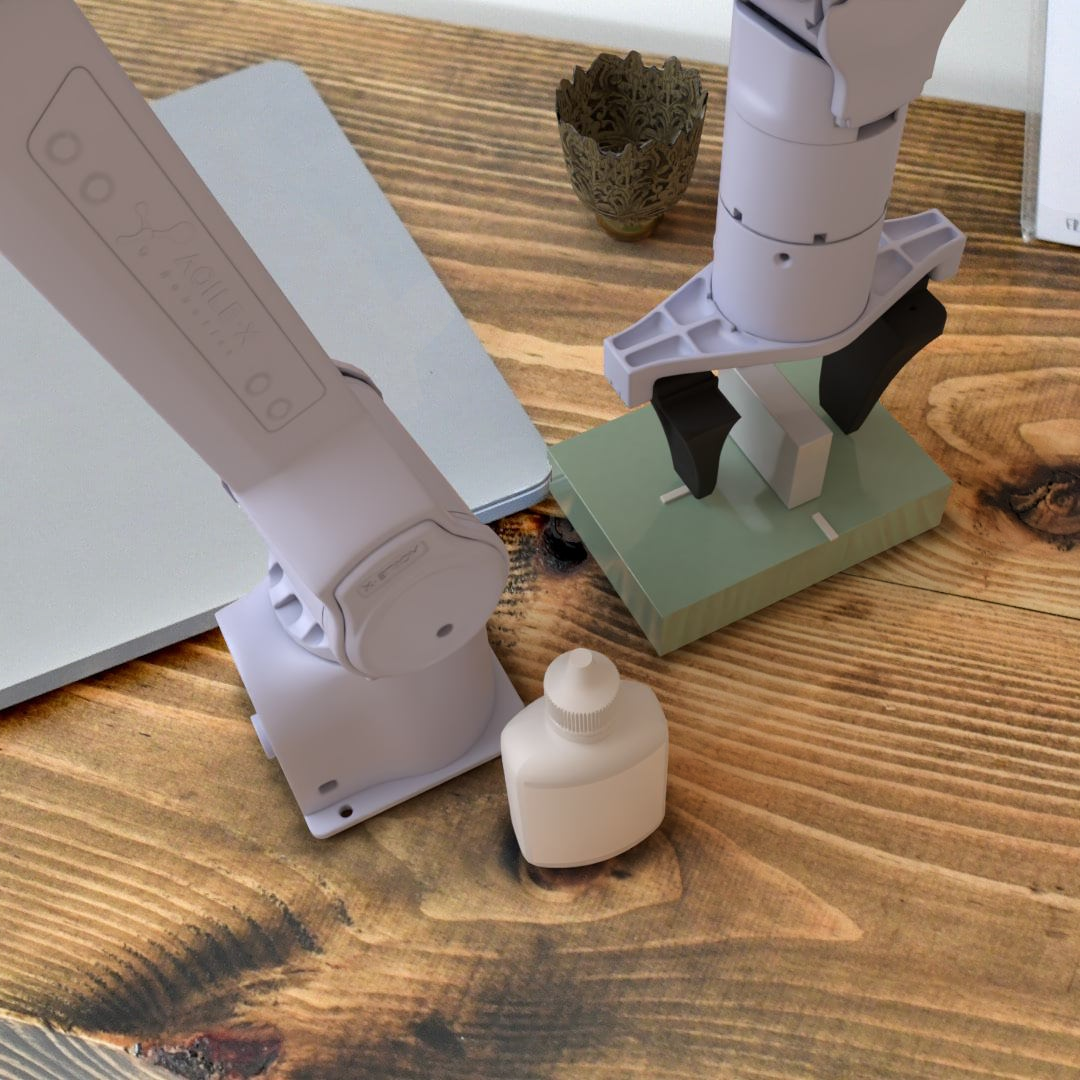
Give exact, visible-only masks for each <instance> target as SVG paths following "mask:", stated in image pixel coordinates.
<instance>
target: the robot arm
mask: <svg viewBox="0 0 1080 1080" xmlns="http://www.w3.org/2000/svg"><path fill="white" fill-rule="evenodd" d="M732 1H733V2H732V14H731V27H730V38H729V39H730V41H729V53H728V67H727V80H726V94H725V95H726V96H725V109H724V120H723V121H724V122H723V123H724V124H723V134H722V135H723V136H722V148H721V149H722V150H721V161H720V175H719V185H718V196H717V209H716V222H715V232H714V235H713V241H712V250H713V259H712V261H710V262H709V263H708V264H707V265H706V266H704V267H703V268H702V269H701V270H700V271H698V272H697V273H696V274H695V275H694V276H692V277H691V278H690V279H689V280H688V281H687V280H686V282H685V283H683V285H681V286H680V287H679V288H678V289H676V290H675V291H673V293H671V294H670V295H669V296H668V297H666V298H665V299H664V300H663V301H662V302H660V303H659V304H658V305H656V306H655V307H654V308H653V309H651V311H649V312H648V313H647V314H645V315H644V316H643V317H642V318H640V319H639V320H637V321H636V322H635V323H633V324H632V325H630V326H628V327H626V328H625V329H623V330H621V331H619V332H617V333H614V334H612V335H610V336H608V337H606V338H604V339H603V376H604V378H605V379H606V381H607V382H608V383H609V385H611V386H610V387H611V388H612V389H613V390H614V392H615V394H616V395H617V396H618V397H619V398H620V399H621V401H622V402H623V404H624V405H625V406H626V408H627V409H629V410H632V409H634V408H637V407H639V406H642V405H644V404H646V403H649V402H650V404H652V406H653V408H654V410H655V412H656V414H657V416H658V418H659V420H660V422H661V425H662V427H663V430H664V433H665V435H666V438H667V441H668V445H669V448H670V452H671V457H672V461H673V466H674V470H675V471H676V473H677V474H678V475H679V477H680V478H681V480H682V481H683V482H684V484H685V485H686V486H687V488H688V489H689V490H690V492H691V493H692V494H693V496H694V497H695V499H702V498H704V497H706V496H709V495H711V494H712V493H713V491H714V489H715V486H716V484H717V477H718V469H719V461H720V455H721V451H722V448H723V445H724V443H725V440H726V438H727V436H728V434H729V432H730V431H731V429H732V428H733V426H734V425H735V424H736V423H737V422H738V420H739V419H740V418H742V417H741V415H740V414H739V413H738V412H737V410H736V409H735V408H734V407H733V406H732V404H731V403H730V402H729V401H728V399H727V398H726V397H725V396H724V394H723V393H722V392H721V391H720V389H719V388H718V383H719V378H718V377H717V376H718V375H715V374H714V372H713V371H718V370H721V369H729V368H738V367H747V366H756V365H764V364H773V363H782V362H790V361H799V360H807V359H813V358H819V357H822V356H823V358H822V365H821V372H820V380H819V403H820V406H821V407H822V408H823V409H824V411H825V412H826V413H827V414H828V415H829V416H830V418H831V419H832V420H833V421H834V422H835V423H836V425H837V426H838V427H839V428H840V429H841V430H842V432H843V433H844V434H845V435H849V434H851V433H853V432H855V431H858V429H859V428H860V427H861V426H862V424H863V423H864V421H865V420H866V418H867V417H868V415H869V414H870V412H871V411H872V409H873V407H874V406H875V404H876V403H877V401H878V400H879V401H880V398H881V397H882V395H883V394H884V392H885V391H886V390H887V389H888V387H889V386H890V384H891V383H892V381H893V380H894V379H895V378H896V376H897V375H898V374H899V372H900V371H902V370H903V368H904V367H905V366H906V365H907V364H908V363H909V362H910V361H911V360H912V359H913V358H914V357H915V356H916V355H917V354H918V353H920V352H921V351H922V350H923V349H924V348H925V347H927V346H928V345H929V344H930V343H932V342H933V341H934V340H936V339H937V338H939V337H940V336H942V335H943V334H944V329H945V326H946V323H947V319H948V311H947V309H946V307H945V306H944V304H943V303H942V302H941V301H940V300H939V299H938V298H937V297H936V296H935V294H933V293H932V292H931V291H930V290H929V289H928V286H929V282H930V281H931V282H935V283H939V282H942V281H946V280H948V279H950V278H952V277H955V276H957V275H958V272H959V269H960V265H961V261H962V258H963V254H964V251H965V247H966V243H967V239H968V236H967V235H966V234H964V233H963V232H962V231H961V229H959V228H958V227H957V226H956V225H955V224H954V223H953V222H952V221H951V220H950V219H949V218H947V217H946V216H945V215H944V214H943V213H942V211H940V210H939V209H938V208H936V207H933V208H932V209H928V210H926V211H923V212H919V213H916V214H913V215H907V216H904V217H897V218H890V219H886V214H887V209H888V205H889V201H890V196H891V191H892V186H893V182H894V176H895V173H896V169H897V168H896V167H897V163H898V159H899V153H900V150H901V149H900V148H901V144H902V138H903V134H904V129H905V124H906V120H907V115H908V110H909V106H910V105H909V104H910V103H911V102H914V101H915V100H917V99H918V98H919V97H920V96H921V94H922V93H923V90H924V87H925V85H926V82H928V81H929V80H930V79H932V77H933V73H934V70H935V65H936V60H937V56H938V52H939V49H940V46H941V43H942V42H943V41H942V40H943V38H944V37H945V34H946V32H948V29H949V27H950V25H951V24H952V22H953V21H954V19H955V18H956V17H957V15H958V14H959V12H960V11H961V10H962V8H963V6H964V5H965V3H966V2H967V0H732ZM0 254H1V256H2V257H3V258H4V259H6V260H7V261H8V263H9V264H10V265H11V266H12V267H13V268H14V269H15V270H16V271H17V272H18V273H19V274H20V275H21V276H22V277H23V278H24V279H25V280H26V281H27V282H28V284H30V285H31V286H32V287H33V288H34V289H35V290H36V292H38V293H39V294H40V295H41V297H43V298H44V299H45V301H47V302H48V304H50V306H51V307H52V308H53V309H54V310H55V311H57V313H58V314H59V315H60V316H61V317H62V318H63V319H64V320H65V321H66V322H67V323H68V324H69V325H70V326H71V327H72V328H73V329H74V330H75V331H76V332H77V333H78V334H79V335H80V336H81V338H83V340H84V341H86V343H88V344H89V345H90V346H91V347H92V349H93V350H95V352H96V353H97V354H98V355H99V356H100V357H101V358H102V359H103V360H104V361H105V362H106V363H107V364H108V366H110V367H111V368H112V369H113V370H114V371H115V372H116V373H117V374H118V375H119V376H120V377H121V378H122V379H123V380H124V381H125V382H126V383H127V384H128V385H129V386H130V387H131V388H132V390H134V392H136V393H137V395H139V397H140V398H141V399H143V401H145V403H146V404H147V405H148V406H149V407H150V408H151V409H152V410H153V411H154V412H155V413H156V414H157V415H158V416H159V417H160V418H161V419H162V420H163V421H164V422H165V423H166V424H167V425H168V427H170V428H171V429H172V430H173V431H174V432H175V433H176V434H177V435H178V436H179V437H180V438H181V440H183V442H184V443H185V444H186V445H187V446H188V447H189V448H190V449H191V450H192V451H193V452H194V453H195V454H196V455H197V456H198V457H199V458H200V459H201V460H202V461H203V462H204V463H205V464H206V465H207V466H208V467H209V468H210V469H211V470H212V471H213V473H215V474H216V478H217V480H218V482H219V483H220V485H221V487H222V488H223V490H224V491H225V492H226V493H227V494H228V496H229V498H231V499H232V500H233V501H234V503H236V504H238V505H239V506H240V508H241V510H242V511H243V513H244V514H245V515H246V517H247V518H248V520H249V522H250V523H251V525H252V526H253V527H254V529H255V530H256V532H257V533H258V534H259V536H260V538H261V539H262V541H263V542H264V544H265V546H266V547H267V549H268V558H267V559H268V560H267V562H268V563H267V575H266V576H265V577H264V578H263V579H261V581H260V582H258V584H257V585H256V586H254V587H253V588H252V589H250V590H249V591H247V593H245V594H244V595H242V596H240V598H238V599H236V600H235V601H233V602H231V603H229V604H228V605H226V606H224V607H223V608H221V609H219V610H218V611H217V612H215V613H214V617H215V619H216V622H217V625H218V626H219V629H220V632H221V635H222V637H223V639H224V641H225V643H226V646H227V648H228V651H229V653H230V655H231V657H232V660H233V662H234V664H235V667H236V669H237V671H238V674H239V677H240V679H241V680H242V682H243V685H244V687H245V690H246V692H247V694H248V696H249V699H250V701H251V703H252V705H253V708H254V710H255V712H256V713H254V714H252V715H250V720H251V723H252V726H253V727H254V730H255V732H256V735H257V737H258V739H259V741H260V744H261V746H262V749H263V751H264V753H265V755H266V757H267V760H272V759H274V758H276V759H277V761H278V763H279V765H280V768H281V769H282V772H283V774H284V776H285V778H286V781H287V783H288V785H289V787H290V790H291V792H292V793H293V796H294V798H295V801H296V802H297V804H298V807H299V809H300V811H301V813H302V815H303V818H304V820H305V823H306V824H307V827H308V829H309V831H310V833H311V834H312V836H313V837H314V838H316V839H319V840H325V839H327V838H330V837H332V836H334V835H336V834H338V833H341V832H343V831H345V830H347V829H349V828H351V827H353V826H355V825H358V824H360V823H362V822H364V821H365V820H369V819H370V818H373V817H374V816H376V815H379V814H381V813H383V812H385V811H387V810H389V809H391V808H393V807H395V806H397V805H400V804H401V803H403V802H405V801H408V800H410V799H412V798H414V797H416V796H418V795H421V794H422V793H425V792H426V791H429V790H431V789H433V788H435V787H437V786H439V785H442V784H444V783H446V782H447V781H449V780H450V781H451V780H452V779H454V778H456V777H458V776H460V775H462V774H464V773H466V772H468V771H471V770H473V769H474V768H477V767H479V766H481V765H483V764H486V763H488V762H489V761H492V760H494V759H495V758H498V757H500V756H502V753H501V733H502V731H503V729H504V728H505V726H506V724H507V723H508V722H509V721H510V720H511V719H512V718H513V717H514V716H516V715H517V714H518V713H519V712H520V711H521V710H523V709H524V708H525V707H526V706H525V704H524V702H523V700H522V699H521V697H520V695H519V694H518V692H517V690H516V688H515V686H514V685H513V683H512V681H511V679H510V677H509V676H508V673H506V671H505V669H504V668H503V666H502V664H501V662H500V661H499V659H498V657H497V654H496V653H495V652H494V650H493V647H491V644H490V643H489V636H488V629H487V622H489V620H490V619H491V617H492V615H493V614H494V612H495V611H496V609H497V607H498V605H499V603H500V601H501V598H502V596H503V594H504V592H505V589H506V586H507V584H508V581H509V578H510V571H511V557H510V554H509V550H508V548H507V546H506V544H505V543H504V541H503V539H502V538H500V536H499V535H498V534H497V532H495V531H494V530H493V529H492V528H491V527H490V525H487V524H484V523H482V522H481V520H480V519H479V518H478V517H477V515H476V514H475V513H474V512H473V510H471V507H469V506H468V504H467V503H466V502H465V500H464V499H463V498H462V497H461V496H460V494H459V492H457V491H456V490H455V488H454V487H453V486H452V485H451V484H450V481H448V480H447V478H446V477H445V476H444V474H443V473H442V472H441V471H440V469H439V468H438V467H437V466H436V465H435V463H434V462H433V461H432V460H431V458H430V457H429V456H428V454H427V453H426V452H425V451H424V450H423V448H422V447H421V445H419V443H418V442H417V441H416V440H415V439H414V437H413V436H412V435H411V434H410V432H409V431H408V429H406V427H405V426H404V425H403V423H402V422H401V421H400V420H399V419H398V418H397V416H396V415H395V413H394V412H393V411H392V410H391V409H390V407H389V406H388V405H387V404H386V402H385V401H384V397H383V393H382V391H381V390H380V389H379V387H377V385H376V384H375V382H374V381H373V379H372V377H371V376H369V374H367V373H366V372H365V371H364V370H363V369H361V368H360V367H357V366H355V365H354V364H352V363H348V362H345V361H342V360H338V359H334V358H331V357H330V356H329V354H328V353H327V352H326V350H325V349H324V348H323V346H322V345H321V343H320V342H319V341H318V339H317V337H316V336H315V334H313V332H312V331H311V329H310V328H309V326H308V325H307V324H306V322H305V321H304V320H303V318H302V317H301V315H300V314H299V312H298V311H297V310H296V309H295V307H294V306H293V304H292V303H291V301H290V300H289V298H288V297H287V296H286V294H285V293H284V292H283V290H282V289H281V287H280V286H279V285H278V283H277V282H276V281H275V279H274V278H273V276H272V275H271V274H270V272H269V271H268V270H267V268H266V267H265V265H264V264H263V262H262V261H261V259H260V258H259V257H258V255H257V254H256V252H255V251H254V250H253V248H252V247H251V245H250V244H249V242H248V241H247V240H246V239H245V237H244V235H243V234H242V233H241V231H240V230H239V228H238V227H237V226H236V225H235V223H234V222H233V220H232V218H230V216H229V215H228V214H227V212H226V210H225V209H224V208H223V206H222V205H221V204H220V202H219V200H217V198H216V197H215V195H214V194H213V192H212V191H211V189H210V188H209V186H208V185H207V184H206V183H205V181H204V180H203V178H202V177H201V176H200V174H199V173H198V171H197V170H196V168H195V167H194V166H193V165H192V163H191V162H190V160H189V159H188V157H187V156H186V155H185V153H184V152H183V150H182V149H181V148H180V146H179V145H178V143H177V142H176V141H175V139H174V138H173V136H172V135H171V134H170V133H169V131H168V130H167V128H166V127H165V126H164V123H162V121H161V120H160V118H159V117H158V115H157V114H156V113H155V111H154V110H153V109H152V107H151V106H150V104H149V103H148V102H147V100H146V98H144V96H143V94H142V93H141V92H140V90H139V89H138V88H137V86H136V85H135V83H134V82H133V80H131V77H129V75H128V74H127V72H126V71H125V69H124V68H123V66H122V65H121V64H120V63H119V61H118V60H117V58H116V57H115V56H114V54H113V53H112V52H111V50H110V48H109V47H108V46H107V44H106V43H105V42H104V40H103V39H102V37H101V36H100V34H99V33H98V32H97V31H96V28H94V26H93V25H92V23H91V22H90V21H89V19H88V18H87V16H86V15H85V14H84V12H83V11H82V9H81V8H80V7H79V5H78V4H77V2H76V1H75V0H0ZM348 810H350V811H352V813H351V815H349V816H347V817H343V816H342V814H343V813H344V812H345V811H348Z"/></svg>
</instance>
